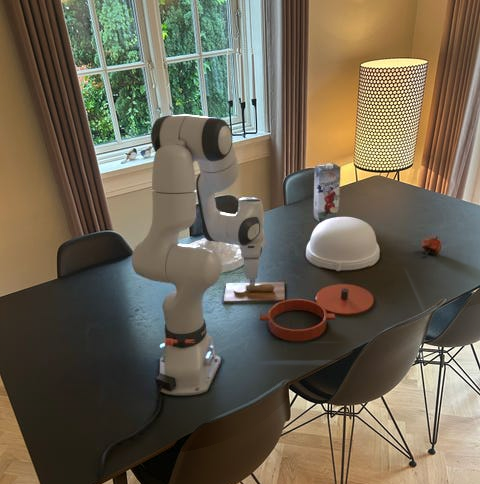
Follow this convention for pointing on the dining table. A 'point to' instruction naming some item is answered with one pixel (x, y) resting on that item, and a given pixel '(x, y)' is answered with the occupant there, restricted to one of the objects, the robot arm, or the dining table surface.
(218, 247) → the cake
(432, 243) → the pomegranate
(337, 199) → the juice carton
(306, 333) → the pan
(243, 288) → the spoon
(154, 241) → the robot arm
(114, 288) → the dining table surface
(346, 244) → the dome cover
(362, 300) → the lid
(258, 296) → the board
